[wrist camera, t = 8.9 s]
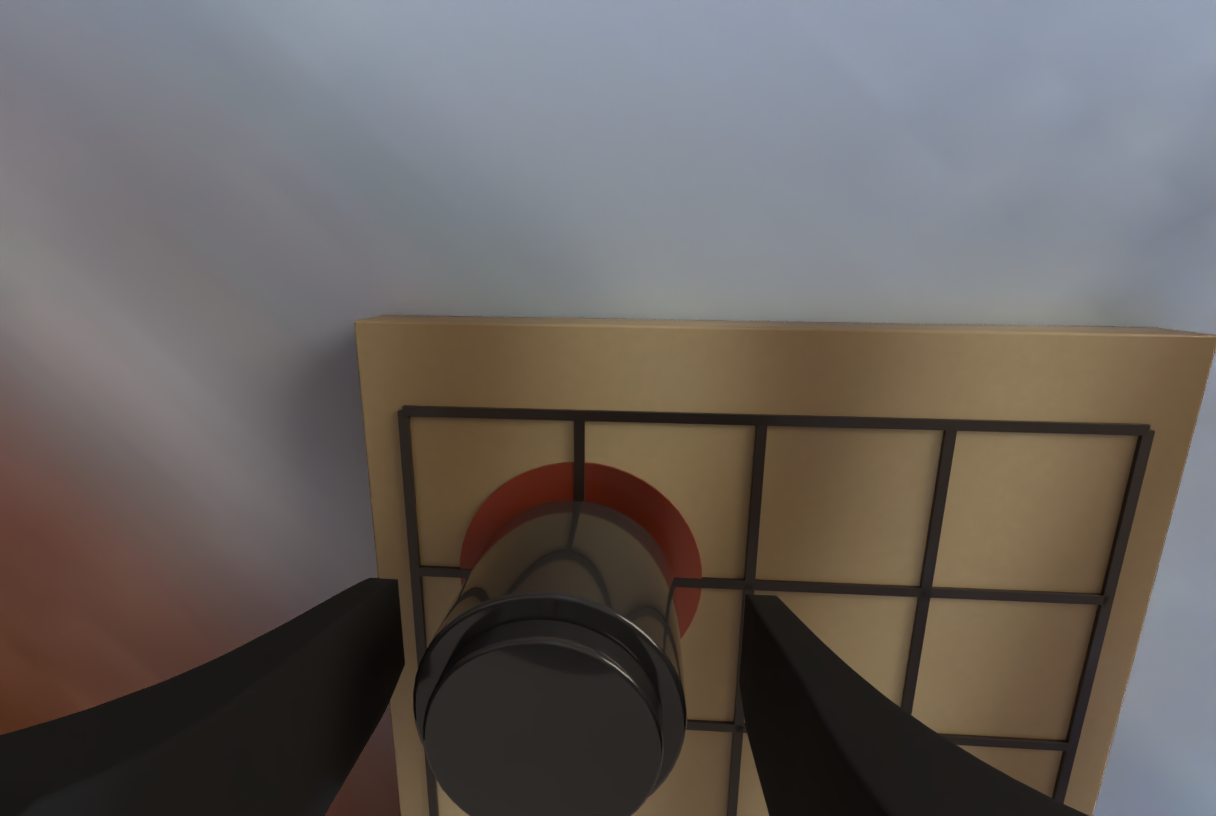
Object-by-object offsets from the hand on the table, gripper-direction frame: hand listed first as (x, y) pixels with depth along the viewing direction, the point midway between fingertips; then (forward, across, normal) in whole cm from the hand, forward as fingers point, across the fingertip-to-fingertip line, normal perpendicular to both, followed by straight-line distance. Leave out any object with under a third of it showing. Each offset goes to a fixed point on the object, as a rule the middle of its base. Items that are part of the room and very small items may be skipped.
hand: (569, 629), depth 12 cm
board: (+4, -4, +4) cm, 7 cm away
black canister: (+2, 0, 0) cm, 2 cm away
